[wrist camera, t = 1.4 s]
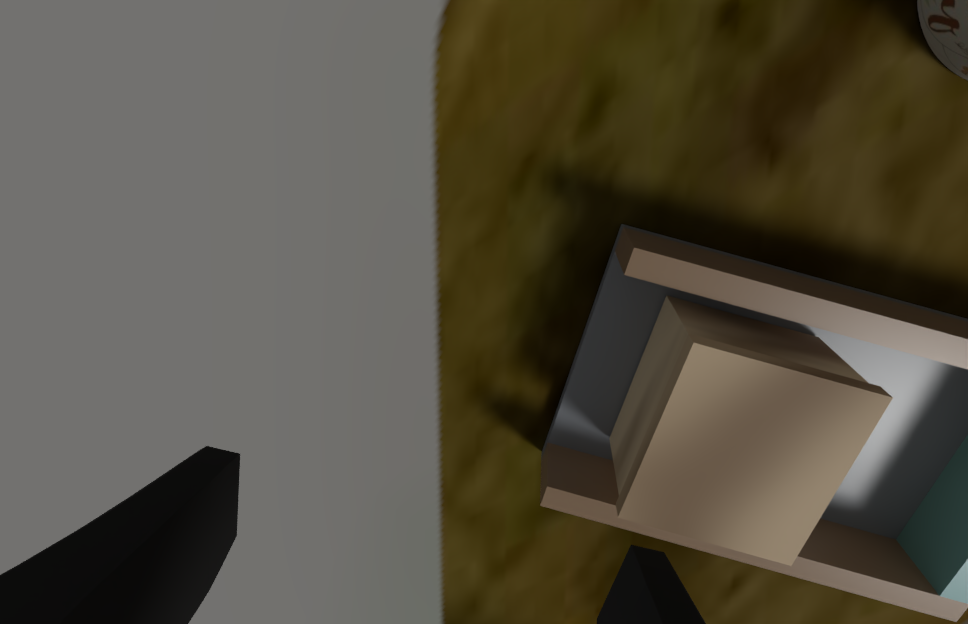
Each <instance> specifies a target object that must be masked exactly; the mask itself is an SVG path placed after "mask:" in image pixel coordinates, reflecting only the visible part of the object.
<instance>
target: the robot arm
mask: <svg viewBox="0 0 968 624" xmlns="http://www.w3.org/2000/svg"><path fill="white" fill-rule="evenodd" d="M239 467H240V454H239V453H234V452H230V451H226V450H221V449H217V448H213V447H209V446H206V447H205V448H203V449H201V450H200V451H198V452H197V453H195V454H193V455H192V456H190V457H189V458H187V459H186V460H184V461H183V462H181V463H180V464H178V465H177V466H175V467H174V468H172V469H171V470H169V471H168V472H167V473H165V474H163V475H162V476H160V477H159V478H157V479H156V480H155V481H153V482H151V483H150V484H148V485H147V486H145V487H144V488H143V489H141V490H139V491H138V492H136V493H135V494H134V495H132V496H130V497H129V498H127V499H126V500H124V501H123V502H121V503H119V504H118V505H116V506H115V507H113V508H112V509H110V510H108V511H107V512H106V513H104V514H102V515H101V516H99V517H98V518H96V519H94V520H93V521H91V522H90V523H88V524H87V525H85V526H83V527H82V528H80V529H79V530H77V531H75V532H74V533H72V534H70V535H69V536H67V537H65V538H63V539H62V540H60V541H58V542H57V543H55V544H53V545H51V546H50V547H48V548H46V549H45V550H43V551H41V552H40V553H38V554H36V555H34V556H33V557H31V558H30V559H28V560H26V561H24V562H23V563H21V564H19V565H17V566H16V567H14V568H12V569H10V570H8V571H7V572H5V573H3V574H1V575H0V624H188V623H189V621H190V620H191V618H192V617H193V615H194V613H195V612H196V611H197V609H198V607H199V606H200V604H201V603H202V601H203V600H204V598H205V596H206V595H207V593H208V592H209V590H210V588H211V586H212V584H213V582H214V580H215V578H216V576H217V574H218V572H219V570H220V568H221V566H222V565H223V562H224V560H225V558H226V556H227V554H228V552H229V550H230V548H231V546H232V544H233V542H234V540H235V538H236V536H237V514H238V489H239ZM597 624H706V623H705V622H704V620H703V618H702V617H701V615H700V613H699V611H698V610H697V608H696V606H695V605H694V603H693V601H692V599H691V598H690V596H689V594H688V593H687V591H686V589H685V587H684V586H683V584H682V582H681V581H680V579H679V577H678V575H677V574H676V572H675V570H674V569H673V567H672V565H671V563H670V562H669V560H668V558H667V557H666V555H665V553H664V552H660V551H656V550H651V549H647V548H643V547H638V546H634V545H631V546H630V548H629V551H628V553H627V555H626V557H625V559H624V561H623V564H622V566H621V568H620V570H619V572H618V574H617V577H616V579H615V581H614V583H613V585H612V587H611V590H610V592H609V594H608V596H607V598H606V600H605V603H604V605H603V607H602V609H601V611H600V614H599V616H598V618H597Z"/></svg>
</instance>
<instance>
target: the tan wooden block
mask: <svg viewBox="0 0 968 624" xmlns="http://www.w3.org/2000/svg"><path fill="white" fill-rule="evenodd" d="M892 399H893V397H892V396H891V395H889V394H888V393H887V392H886V391H885V390H884V389H883V388H882V387H881V386H877V385H873V384H870V383H868V382H867V381H866V380H865V379H864V378H863V377H862V376H861V375H859V374H858V373H857V372H856V371H855V370H854V369H853V368H852V367H851V366H850V365H849V364H847V363H846V362H845V361H844V360H843V359H842V358H841V357H840V356H839V355H838V354H836V353H835V352H834V351H833V350H832V349H831V348H830V347H829V346H828V345H827V344H826V343H824V342H823V341H822V340H821V339H820V338H819V337H816V336H812V335H809V334H805V333H801V332H798V331H794V330H791V329H787V328H783V327H780V326H776V325H772V324H769V323H765V322H761V321H758V320H754V319H751V318H747V317H743V316H740V315H736V314H732V313H729V312H725V311H722V310H718V309H714V308H711V307H707V306H703V305H700V304H696V303H693V302H689V301H685V300H682V299H678V298H674V297H671V296H667V295H666V298H665V300H664V303H663V305H662V308H661V310H660V313H659V315H658V318H657V320H656V323H655V325H654V328H653V330H652V333H651V335H650V338H649V340H648V343H647V345H646V348H645V350H644V353H643V355H642V358H641V360H640V363H639V365H638V368H637V370H636V373H635V375H634V378H633V380H632V383H631V386H630V388H629V391H628V393H627V396H626V398H625V401H624V403H623V406H622V408H621V411H620V413H619V416H618V418H617V421H616V423H615V426H614V428H613V431H612V433H611V436H610V438H609V440H610V446H611V452H612V458H613V463H614V469H615V475H616V481H617V487H618V493H619V497H618V500H617V502H616V509H617V515H618V518H621V519H625V520H628V521H632V522H636V523H639V524H643V525H646V526H650V527H653V528H657V529H661V530H664V531H668V532H671V533H675V534H678V535H682V536H686V537H689V538H693V539H696V540H700V541H704V542H707V543H711V544H714V545H718V546H721V547H725V548H729V549H732V550H736V551H739V552H743V553H746V554H750V555H754V556H757V557H761V558H764V559H768V560H771V561H775V562H779V563H782V564H786V565H789V566H792V564H793V562H794V561H795V559H796V557H797V556H798V554H799V553H800V551H801V549H802V548H803V546H804V544H805V543H806V541H807V539H808V538H809V536H810V534H811V533H812V531H813V529H814V528H815V526H816V524H817V523H818V521H819V519H820V518H821V516H822V514H823V513H824V511H825V510H826V508H827V506H828V505H829V503H830V501H831V500H832V498H833V496H834V495H835V493H836V491H837V490H838V488H839V486H840V485H841V483H842V481H843V480H844V478H845V476H846V475H847V473H848V471H849V470H850V468H851V467H852V465H853V463H854V462H855V460H856V458H857V457H858V455H859V453H860V452H861V450H862V448H863V447H864V445H865V443H866V442H867V440H868V438H869V437H870V435H871V433H872V432H873V430H874V429H875V427H876V425H877V424H878V422H879V420H880V419H881V417H882V415H883V414H884V412H885V410H886V409H887V407H888V405H889V404H890V402H891V400H892Z"/></svg>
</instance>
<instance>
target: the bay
mask: <svg viewBox="0 0 968 624" xmlns="http://www.w3.org/2000/svg"><path fill="white" fill-rule="evenodd" d="M666 295H667V296H671V297H674V298H678V299H682V300H685V301H689V302H693V303H696V304H700V305H703V306H707V307H711V308H714V309H718V310H722V311H725V312H729V313H732V314H736V315H740V316H743V317H747V318H751V319H754V320H758V321H761V322H765V323H769V324H772V325H776V326H780V327H783V328H787V329H791V330H794V331H798V332H801V333H805V334H809V335H812V336H816V337H819V338H820V339H821V340H822V341H823V342H824V343H826V344H827V345H828V346H829V347H830V348H831V349H832V350H833V351H834V352H835V353H836V354H838V355H839V356H840V357H841V358H842V359H843V360H844V361H845V362H846V363H847V364H849V365H850V366H851V367H852V368H853V369H854V370H855V371H856V372H857V373H858V374H859V375H861V376H862V377H863V378H864V379H865V380H866V381H867V382H868V383H870V384H873V385H877V386H881V387H882V388H883V389H884V390H885V391H886V392H887V393H888V394H889V395H891V396H892V397H893V399H892V400H891V402H890V404H889V405H888V407H887V409H886V410H885V412H884V414H883V415H882V417H881V419H880V420H879V422H878V424H877V425H876V427H875V429H874V430H873V432H872V433H871V435H870V437H869V438H868V440H867V442H866V443H865V445H864V447H863V448H862V450H861V452H860V453H859V455H858V457H857V458H856V460H855V462H854V463H853V465H852V467H851V468H850V470H849V471H848V473H847V475H846V476H845V478H844V480H843V481H842V483H841V485H840V486H839V488H838V490H837V491H836V493H835V495H834V496H833V498H832V500H831V501H830V503H829V505H828V506H827V508H826V510H825V511H824V513H823V514H822V516H821V518H820V519H819V521H818V523H817V524H816V526H815V528H814V529H813V531H812V533H811V534H810V536H809V538H808V539H807V541H806V543H805V544H804V546H803V548H802V549H801V551H800V553H799V554H798V556H797V557H796V559H795V561H794V562H793V564H792V566H789V565H786V564H782V563H779V562H775V561H771V560H768V559H764V558H761V557H757V556H754V555H750V554H746V553H743V552H739V551H736V550H732V549H729V548H725V547H721V546H718V545H714V544H711V543H707V542H704V541H700V540H696V539H693V538H689V537H686V536H682V535H678V534H675V533H671V532H668V531H664V530H661V529H657V528H653V527H650V526H646V525H643V524H639V523H636V522H632V521H628V520H625V519H621V518H618V515H617V509H616V502H617V500H618V497H619V493H618V487H617V481H616V475H615V469H614V463H613V458H612V452H611V446H610V440H609V438H610V436H611V433H612V431H613V428H614V426H615V423H616V421H617V418H618V416H619V413H620V411H621V408H622V406H623V403H624V401H625V398H626V396H627V393H628V391H629V388H630V386H631V383H632V380H633V378H634V375H635V373H636V370H637V368H638V365H639V363H640V360H641V358H642V355H643V353H644V350H645V348H646V345H647V343H648V340H649V338H650V335H651V333H652V330H653V328H654V325H655V323H656V320H657V318H658V315H659V313H660V310H661V308H662V305H663V303H664V300H665V298H666ZM540 506H544V507H547V508H551V509H554V510H558V511H562V512H565V513H569V514H572V515H576V516H579V517H583V518H587V519H590V520H594V521H597V522H601V523H604V524H608V525H612V526H615V527H619V528H622V529H626V530H629V531H633V532H637V533H640V534H644V535H647V536H651V537H654V538H658V539H662V540H665V541H669V542H672V543H676V544H679V545H683V546H687V547H690V548H694V549H697V550H701V551H704V552H708V553H712V554H715V555H719V556H722V557H726V558H729V559H733V560H737V561H740V562H744V563H747V564H751V565H754V566H758V567H762V568H765V569H769V570H772V571H776V572H779V573H783V574H787V575H790V576H794V577H797V578H801V579H804V580H808V581H812V582H815V583H819V584H822V585H826V586H829V587H833V588H837V589H840V590H844V591H847V592H851V593H854V594H858V595H862V596H865V597H869V598H872V599H876V600H879V601H883V602H887V603H890V604H894V605H897V606H901V607H904V608H908V609H912V610H915V611H919V612H922V613H926V614H930V615H933V616H937V617H940V618H944V619H947V620H951V621H955V622H957V621H958V619H959V618H960V617H961V615H962V614H963V613H964V612H965V610H966V609H967V608H968V319H967V318H963V317H959V316H956V315H952V314H948V313H945V312H941V311H937V310H934V309H930V308H926V307H923V306H919V305H916V304H912V303H908V302H905V301H901V300H897V299H894V298H890V297H886V296H883V295H879V294H875V293H872V292H868V291H865V290H861V289H857V288H854V287H850V286H846V285H843V284H839V283H835V282H832V281H828V280H825V279H821V278H817V277H814V276H810V275H806V274H803V273H799V272H795V271H792V270H788V269H784V268H781V267H777V266H774V265H770V264H766V263H763V262H759V261H755V260H752V259H748V258H744V257H741V256H737V255H733V254H730V253H726V252H723V251H719V250H715V249H712V248H708V247H704V246H701V245H697V244H693V243H690V242H686V241H682V240H679V239H675V238H672V237H668V236H664V235H661V234H657V233H653V232H650V231H646V230H642V229H639V228H635V227H631V226H628V225H624V224H621V226H620V229H619V232H618V235H617V238H616V241H615V244H614V246H613V249H612V252H611V255H610V258H609V261H608V264H607V266H606V269H605V272H604V275H603V278H602V281H601V284H600V287H599V289H598V292H597V295H596V298H595V301H594V304H593V307H592V309H591V312H590V315H589V318H588V321H587V324H586V327H585V329H584V332H583V335H582V338H581V341H580V344H579V347H578V349H577V352H576V355H575V358H574V361H573V364H572V367H571V370H570V372H569V375H568V378H567V381H566V384H565V387H564V390H563V392H562V395H561V398H560V401H559V404H558V407H557V410H556V412H555V415H554V418H553V421H552V424H551V427H550V430H549V432H548V435H547V438H546V441H545V444H544V447H543V450H542V457H541V496H540Z"/></svg>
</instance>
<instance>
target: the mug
mask: <svg viewBox="0 0 968 624" xmlns="http://www.w3.org/2000/svg"><path fill="white" fill-rule="evenodd" d="M917 8H918V15H919V20H920V25H921V28H922V31H923V34H924V36H925V39H926V41H927V43H928V45H929V47H930V48H931V50H932V51H933V53H934V54H935V55H936V57H937V58H938V59H939V60H940V61H941V62H942V63H943V64H944V65H945V66H946V67H947V68H948V69H950V70H951V71H952V72H954V73H955V74H957V75H958V76H960V77H962V78H964V79H966V80H968V0H917Z"/></svg>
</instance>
